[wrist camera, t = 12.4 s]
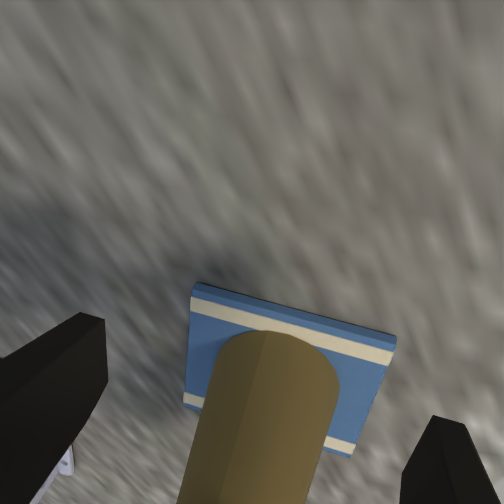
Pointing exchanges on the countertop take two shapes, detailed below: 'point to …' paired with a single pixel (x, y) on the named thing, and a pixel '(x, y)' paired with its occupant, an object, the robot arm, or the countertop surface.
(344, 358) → the towel
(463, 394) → the countertop surface
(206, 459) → the cork
